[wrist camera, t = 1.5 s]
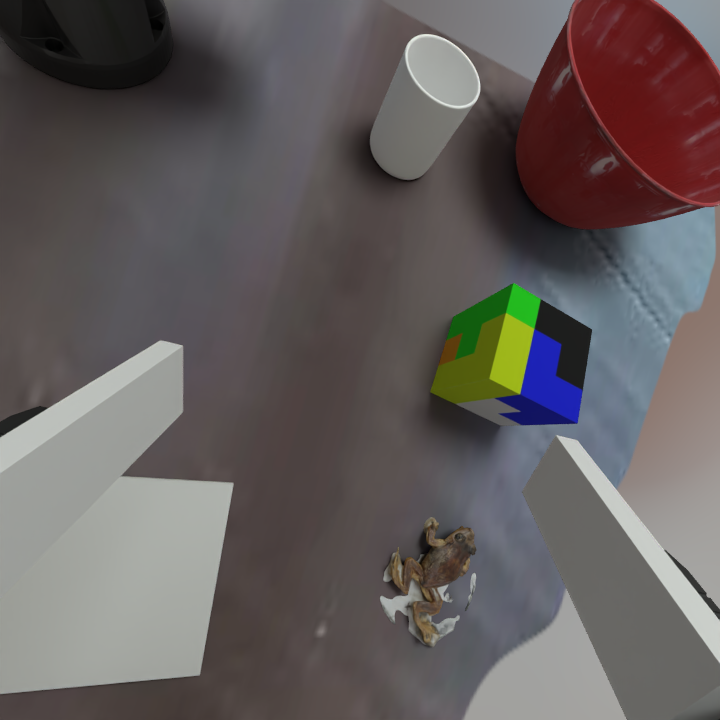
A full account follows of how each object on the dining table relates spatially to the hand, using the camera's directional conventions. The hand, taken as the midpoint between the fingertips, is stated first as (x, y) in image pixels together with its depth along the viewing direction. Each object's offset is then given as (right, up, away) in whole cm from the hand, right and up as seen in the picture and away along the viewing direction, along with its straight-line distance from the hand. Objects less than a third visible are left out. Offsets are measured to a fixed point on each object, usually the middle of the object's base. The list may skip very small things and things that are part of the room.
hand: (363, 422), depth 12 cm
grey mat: (-20, -14, +14) cm, 28 cm away
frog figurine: (+7, -19, +23) cm, 30 cm away
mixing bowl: (+30, +29, +40) cm, 58 cm away
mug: (+6, +30, +33) cm, 45 cm away
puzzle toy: (+14, +1, +29) cm, 32 cm away
